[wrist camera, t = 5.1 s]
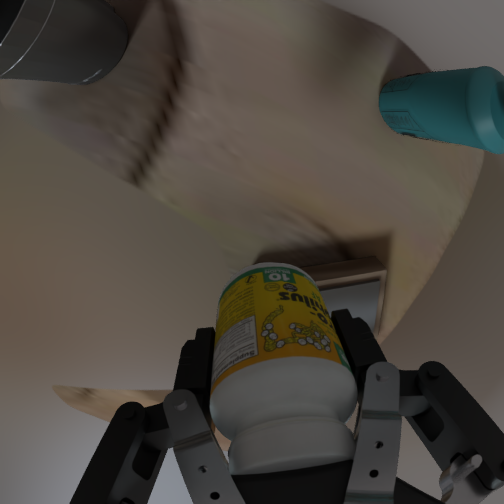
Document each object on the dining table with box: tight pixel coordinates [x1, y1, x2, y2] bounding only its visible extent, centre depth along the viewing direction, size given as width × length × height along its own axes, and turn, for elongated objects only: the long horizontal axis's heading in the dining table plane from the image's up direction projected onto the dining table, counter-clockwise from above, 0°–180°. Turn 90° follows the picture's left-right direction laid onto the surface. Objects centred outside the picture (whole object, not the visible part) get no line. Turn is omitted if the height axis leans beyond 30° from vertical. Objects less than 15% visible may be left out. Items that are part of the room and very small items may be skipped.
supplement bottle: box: [210, 262, 358, 475], centre depth 11 cm, size 5×5×10 cm
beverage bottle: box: [379, 66, 504, 154], centre depth 16 cm, size 6×7×20 cm
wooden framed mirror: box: [300, 256, 387, 341], centre depth 35 cm, size 16×16×4 cm
